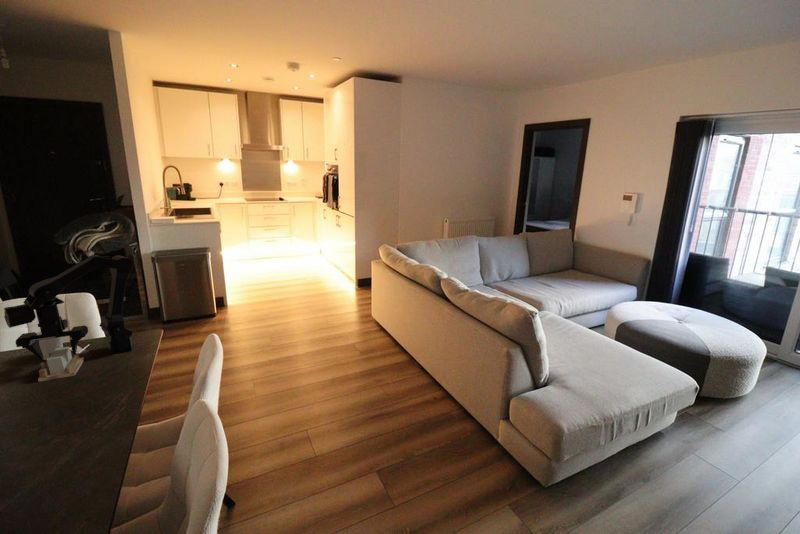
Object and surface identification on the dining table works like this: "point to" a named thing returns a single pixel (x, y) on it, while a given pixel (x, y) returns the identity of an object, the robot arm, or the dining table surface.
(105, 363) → the dining table surface
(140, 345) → the dining table surface
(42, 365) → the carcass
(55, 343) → the white cup
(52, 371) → the light grey block
